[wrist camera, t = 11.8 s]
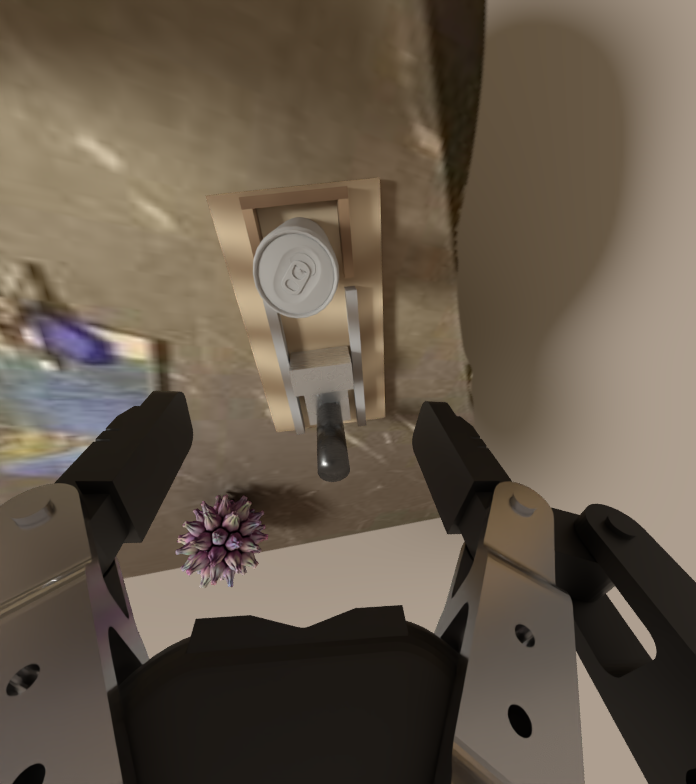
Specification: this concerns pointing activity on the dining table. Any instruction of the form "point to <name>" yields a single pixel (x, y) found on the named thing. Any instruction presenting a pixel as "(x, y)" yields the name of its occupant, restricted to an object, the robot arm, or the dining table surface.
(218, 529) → the flower
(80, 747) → the robot arm
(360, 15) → the dining table surface
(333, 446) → the press block
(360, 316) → the wooden tray
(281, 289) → the beverage can
